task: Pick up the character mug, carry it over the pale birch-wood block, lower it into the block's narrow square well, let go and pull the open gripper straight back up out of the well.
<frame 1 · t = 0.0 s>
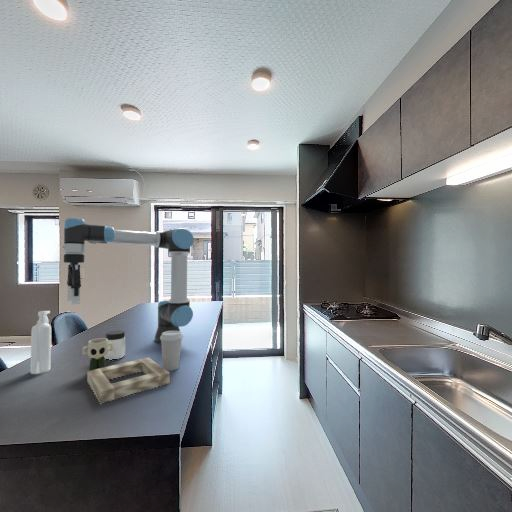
hand: (73, 302, 118), 28 cm above the counter, tool pointing down, fingers open, 13 cm apart
white pump bottle: (39, 372, 112), on the counter
character mug: (97, 372, 112), on the counter
coffee cup: (171, 368, 117), on the counter
well block: (128, 382, 102), on the counter
jar: (114, 357, 129), on the counter
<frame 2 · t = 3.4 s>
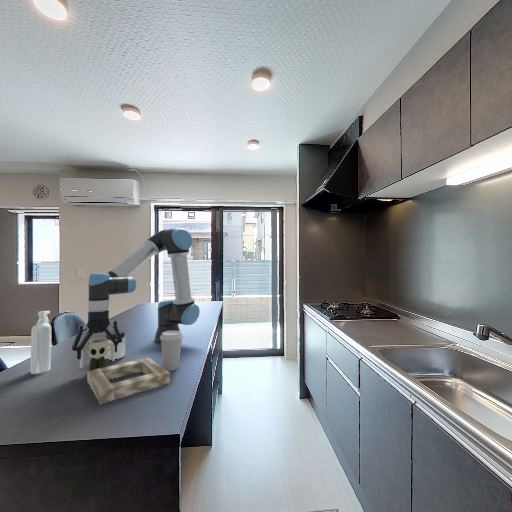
hand: (97, 363, 112), 3 cm above the counter, tool pointing down, fingers closed on character mug, 11 cm apart
character mug: (97, 372, 112), on the counter, touching gripper
everything else where it was.
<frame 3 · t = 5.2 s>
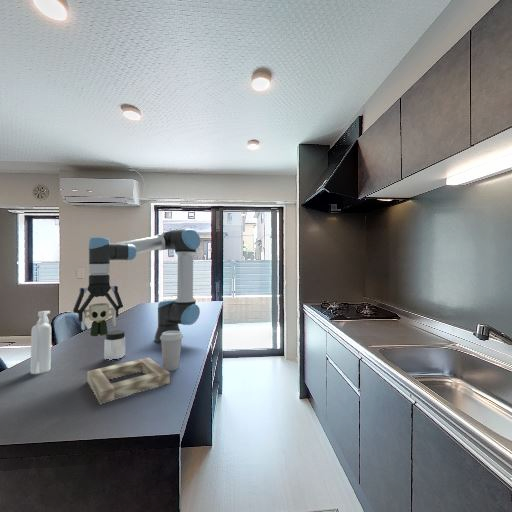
hand: (99, 327, 113), 18 cm above the counter, tool pointing down, fingers closed on character mug, 11 cm apart
character mug: (99, 336, 113), point 15 cm above the counter, touching gripper
everything else where it was.
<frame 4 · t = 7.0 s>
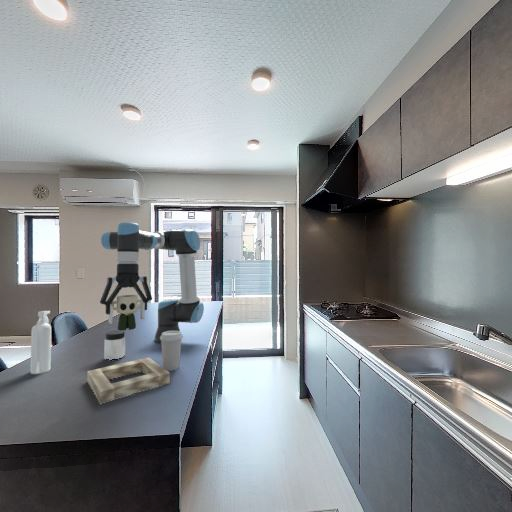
hand: (126, 320, 103), 23 cm above the counter, tool pointing down, fingers closed on character mug, 11 cm apart
character mug: (126, 330, 103), point 19 cm above the counter, touching gripper
everything else where it was.
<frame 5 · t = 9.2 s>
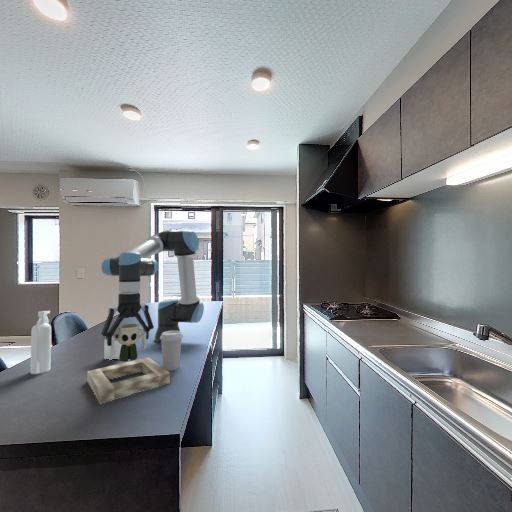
hand: (128, 351, 102), 12 cm above the counter, tool pointing down, fingers closed on character mug, 11 cm apart
character mug: (128, 360, 102), point 8 cm above the counter, touching gripper
everything else where it was.
when the fingers open (5 cm above the counter, at t = 11.1 s): character mug drops 2 cm, resting in well block.
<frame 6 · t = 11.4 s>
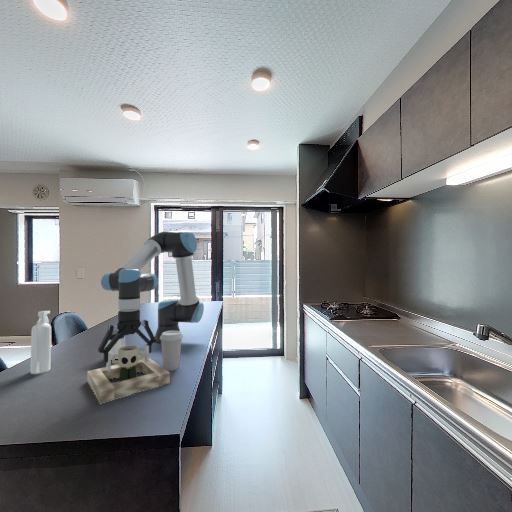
hand: (128, 366, 102), 6 cm above the counter, tool pointing down, fingers open, 13 cm apart
character mug: (128, 383, 102), resting in well block
everything else where it was.
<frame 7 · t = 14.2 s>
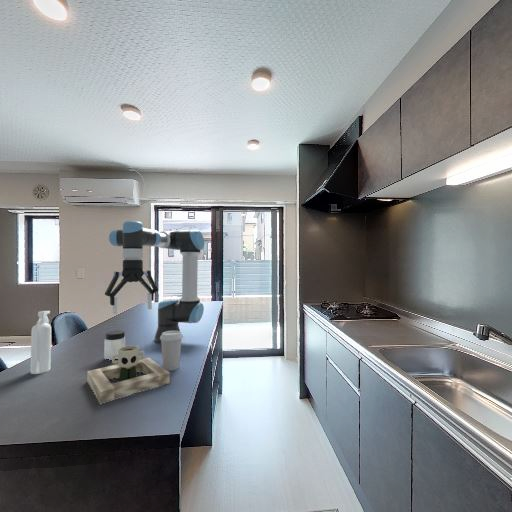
hand: (132, 311, 111), 26 cm above the counter, tool pointing down, fingers open, 13 cm apart
nothing on the counter moved.
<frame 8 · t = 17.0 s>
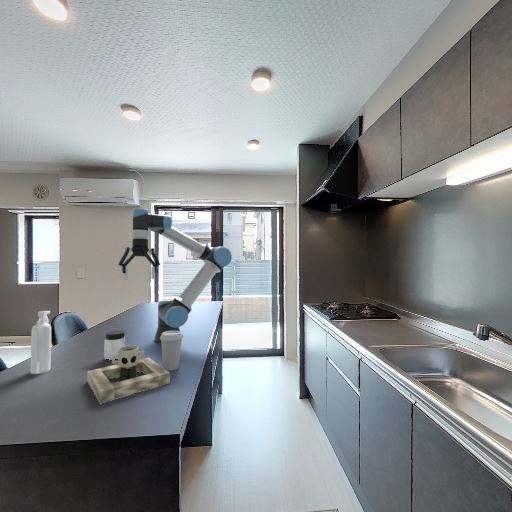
hand: (139, 279, 140), 37 cm above the counter, tool pointing down, fingers open, 13 cm apart
nothing on the counter moved.
at the end: character mug inside the target area on the well block (0.1 cm from its centre), point 0.0 cm above the well block's base; character mug tilted 0°; the gripper is holding nothing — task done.
